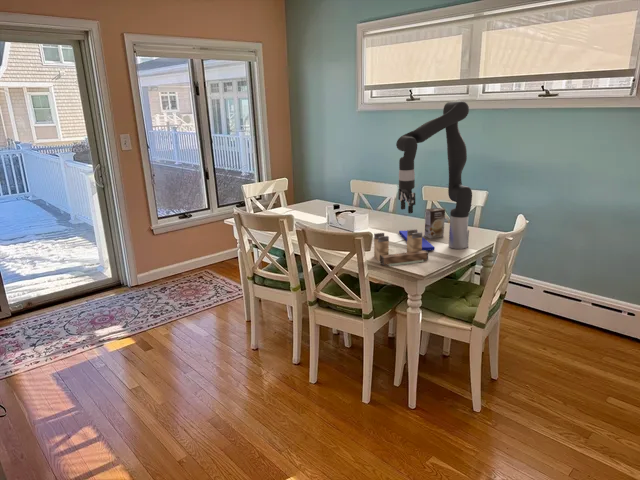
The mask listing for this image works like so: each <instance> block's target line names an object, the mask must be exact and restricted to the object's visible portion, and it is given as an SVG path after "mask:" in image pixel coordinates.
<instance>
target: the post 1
mask: <svg viewBox="0 0 640 480" xmlns="http://www.w3.org/2000/svg"><path fill="white" fill-rule="evenodd" d="M373 234H374V235H373V240H374V242H373V243H374V244H373V247H374V248H373V255H374V256H373V257H374V258H375V259H376V260H377V261H378V262H380V255H381V256H382V255H390V254H389V246H390V243H389V241H390V240H389V239H390V237H389V236H388V235H385V232H378V233H377V232H376V233H373Z"/></svg>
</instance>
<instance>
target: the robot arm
mask: <svg viewBox="0 0 640 480" xmlns="http://www.w3.org/2000/svg"><path fill="white" fill-rule="evenodd" d="M469 107H470V106H469V105H468V103H467V102H466V101H462V100H454V101H453V100H450V101H447V102H446V103H445V104H444V106H443V110H442V115H440V116H438V117H435V118H433V119H431V120H428V121H426V122H425V123H422V124H421V125H420V126H418V127H417V128H415V129H413V130H412V131H409V132H407V133H405V134H403V135H401V136H399V137H398V139H397V140H396V143H395V144H396V145H395V146H396V148H397V150H399V151H400V152H403V156H402V157H400V158H399V162H398V164H399V165H398V166H399V167H398V169H399V171H398V197H397V198H398V201H399V202H400V210H406V203H407V213H408V214H413V213H414V206H416V192H413V189H415V187H416V186H415V185H416V184H415V182H416V180H415V175H416V174H415V159H416V156H417V155H416V154H417V150H418V144H421V143H423V142H425V141H427V140H428V139H430V138H431V137H433V136H435V135H436V134H438V133H439V132H441V131H442V130H444V129H445V134H446V136H445V137H446V146H447V147H446V151H447V162H448V164H447V165H448V189H447V190H448V191H447V194H448V197H449V200H450V201H452V202H454V203H456V204H455V208H452V209H451V210H450V215H449V232H448V233H449V235H448V248H451V249H454V250H455V249H456V250H463V249H466V248H468V247H469V238H470V230H469V228H468V227H469V215H470V212H471V209H472V200H473V192H472V188H470V187H469V186H467V185H463V183H462V174H463V170H464V168H465V166H466V163H467V159H468V157H467V156H468V155H467V144H466V142H465V140H464V138H463V136H462V135H461V132H460V129H459V122H461V121H463V120H465V119H467V116H468V114H469V112H470V108H469Z"/></svg>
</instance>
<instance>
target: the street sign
mask: <svg viewBox="0 0 640 480" xmlns="http://www.w3.org/2000/svg"><path fill="white" fill-rule="evenodd" d="M417 233H419V232H418V231H417ZM398 234H399V235H400V236H401V237H402V238H403V239H404V240H405V241H406V242H407V230H398ZM435 249H436V248H435V246H433V245H432V243H430V242H429V241H428V240H427V239H426V238H424V237H423V236H422V251H424V250H426V251H435Z"/></svg>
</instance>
